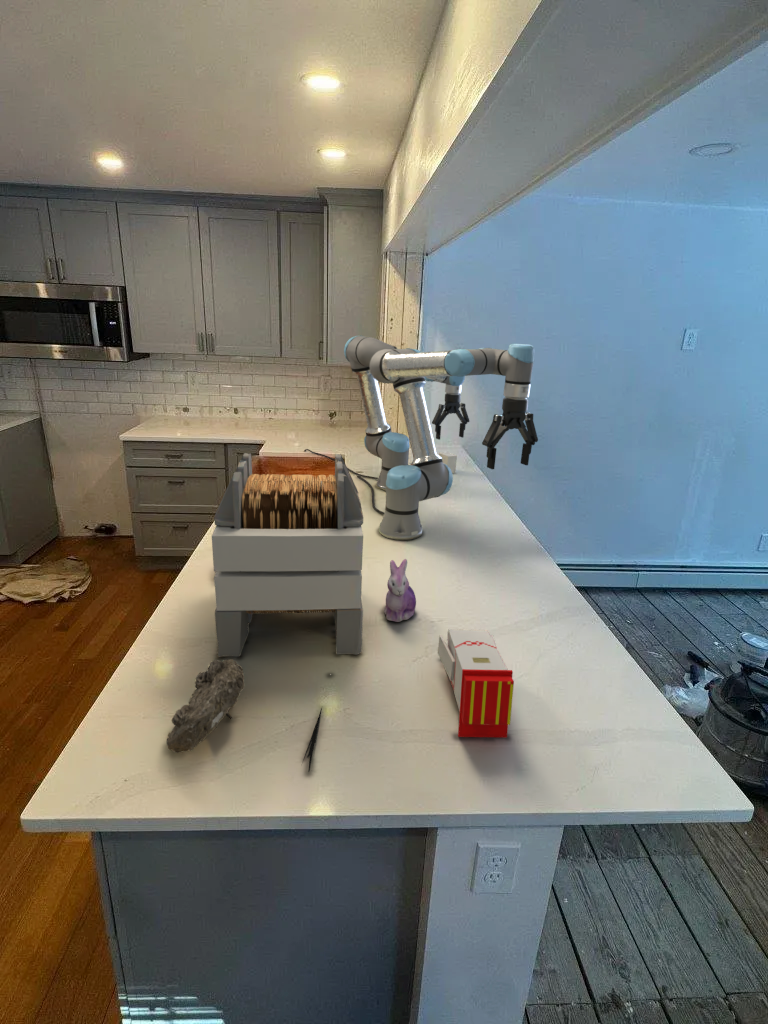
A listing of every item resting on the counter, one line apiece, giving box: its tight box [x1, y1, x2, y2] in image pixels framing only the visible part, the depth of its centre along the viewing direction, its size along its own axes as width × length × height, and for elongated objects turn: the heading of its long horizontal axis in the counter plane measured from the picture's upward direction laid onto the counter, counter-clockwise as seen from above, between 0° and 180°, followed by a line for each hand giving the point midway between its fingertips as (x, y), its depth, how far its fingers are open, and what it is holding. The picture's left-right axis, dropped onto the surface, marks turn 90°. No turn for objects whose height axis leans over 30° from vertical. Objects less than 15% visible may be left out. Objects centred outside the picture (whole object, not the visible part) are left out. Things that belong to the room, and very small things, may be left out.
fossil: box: [166, 658, 245, 754], centre depth 106 cm, size 22×10×15 cm
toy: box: [437, 628, 515, 738], centre depth 117 cm, size 12×13×30 cm
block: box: [438, 451, 458, 475], centre depth 278 cm, size 5×8×9 cm
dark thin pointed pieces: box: [301, 673, 332, 771], centre depth 108 cm, size 2×28×2 cm
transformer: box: [211, 452, 364, 658], centre depth 136 cm, size 34×33×41 cm
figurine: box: [384, 558, 417, 623], centre depth 145 cm, size 9×10×15 cm
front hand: (507, 466), depth 177 cm, fingers open, 13 cm apart
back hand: (449, 438), depth 274 cm, fingers open, 13 cm apart
